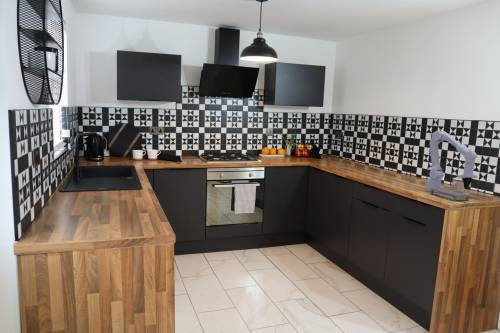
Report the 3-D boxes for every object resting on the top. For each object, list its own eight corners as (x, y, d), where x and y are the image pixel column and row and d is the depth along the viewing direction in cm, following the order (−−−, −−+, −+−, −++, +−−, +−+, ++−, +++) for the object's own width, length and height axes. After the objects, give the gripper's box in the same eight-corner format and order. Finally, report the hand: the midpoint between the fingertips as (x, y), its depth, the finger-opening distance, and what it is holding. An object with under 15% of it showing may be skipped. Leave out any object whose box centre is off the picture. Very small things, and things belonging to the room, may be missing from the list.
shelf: (443, 193, 278) (444, 188, 277) (468, 201, 257) (469, 195, 256) (429, 194, 274) (430, 188, 274) (454, 201, 253) (455, 195, 253)
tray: (450, 194, 275) (450, 192, 275) (467, 199, 261) (468, 197, 261) (436, 195, 272) (437, 192, 271) (453, 200, 257) (453, 197, 257)
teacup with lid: (454, 189, 298) (456, 174, 296) (466, 191, 291) (468, 176, 289) (446, 190, 291) (448, 175, 289) (459, 193, 284) (461, 177, 282)
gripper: (465, 169, 261) (462, 189, 263) (482, 170, 265) (479, 189, 267) (456, 168, 268) (454, 187, 270) (473, 168, 272) (470, 187, 274)
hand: (466, 188), depth 269 cm, fingers closed
